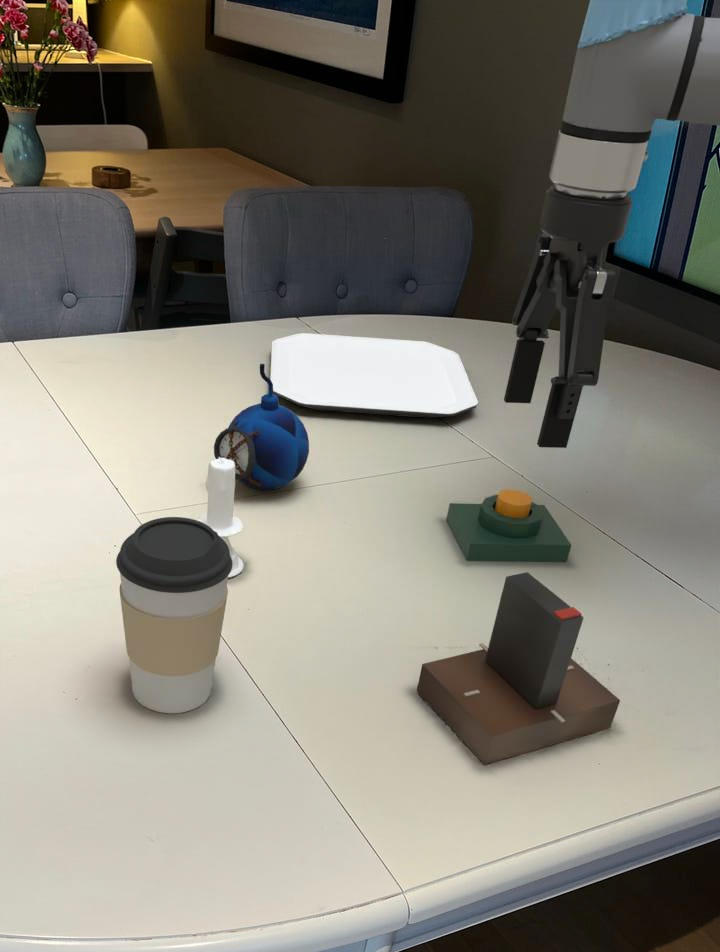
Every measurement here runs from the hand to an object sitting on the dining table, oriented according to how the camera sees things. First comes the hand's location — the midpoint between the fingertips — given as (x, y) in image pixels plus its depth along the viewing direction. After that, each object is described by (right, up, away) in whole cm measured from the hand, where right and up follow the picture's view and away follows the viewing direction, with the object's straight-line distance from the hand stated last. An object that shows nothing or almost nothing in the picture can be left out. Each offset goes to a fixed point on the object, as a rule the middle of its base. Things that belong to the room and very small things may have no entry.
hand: (533, 422), depth 101 cm
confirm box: (-1, -11, +8) cm, 14 cm away
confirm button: (-1, -8, +6) cm, 10 cm away
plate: (-11, +15, +45) cm, 49 cm away
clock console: (-7, -28, -16) cm, 33 cm away
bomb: (-28, -4, +15) cm, 32 cm away
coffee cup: (-36, -26, -16) cm, 47 cm away
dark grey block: (-6, -26, -18) cm, 32 cm away
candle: (-32, -15, 0) cm, 35 cm away
